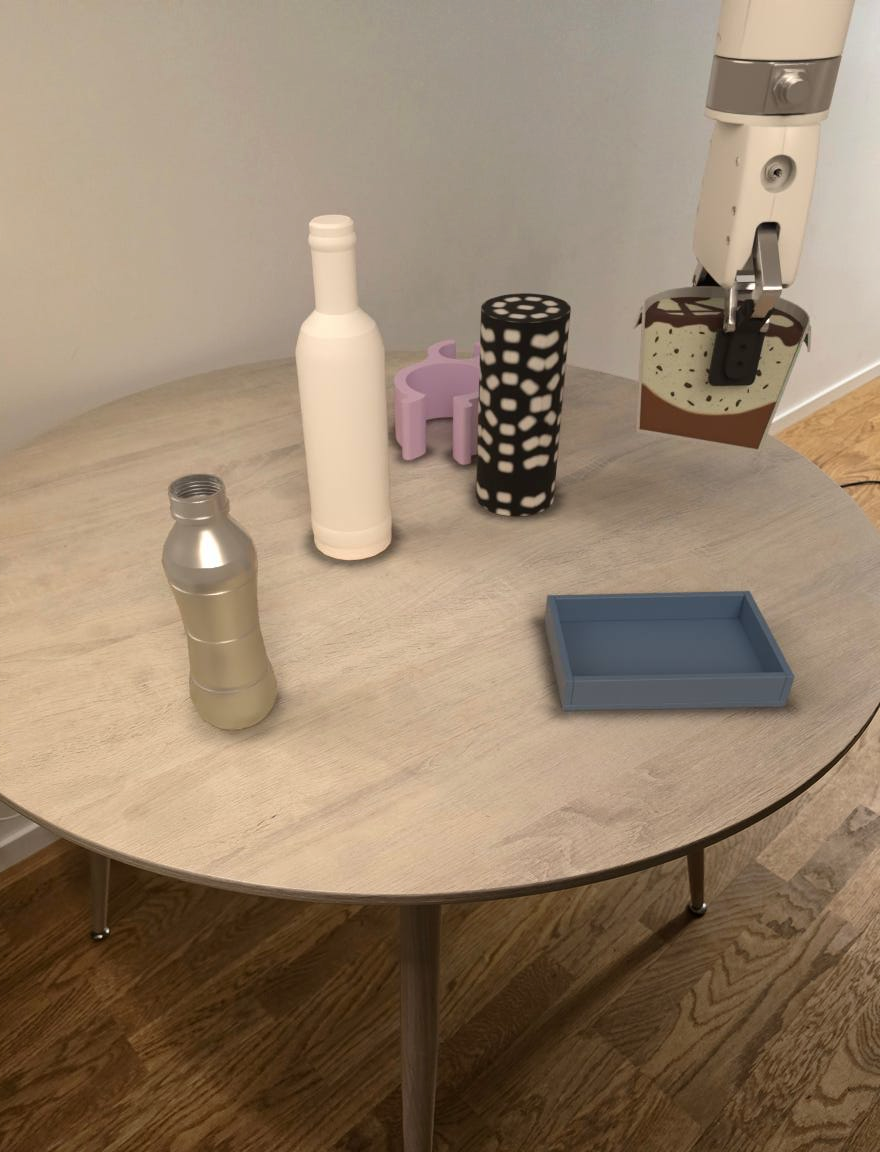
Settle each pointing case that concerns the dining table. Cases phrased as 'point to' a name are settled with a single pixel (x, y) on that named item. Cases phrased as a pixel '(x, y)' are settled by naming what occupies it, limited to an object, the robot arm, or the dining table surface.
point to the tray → (664, 651)
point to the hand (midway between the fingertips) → (716, 361)
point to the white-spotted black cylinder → (520, 401)
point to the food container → (682, 361)
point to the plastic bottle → (218, 604)
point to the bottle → (343, 403)
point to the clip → (438, 400)
